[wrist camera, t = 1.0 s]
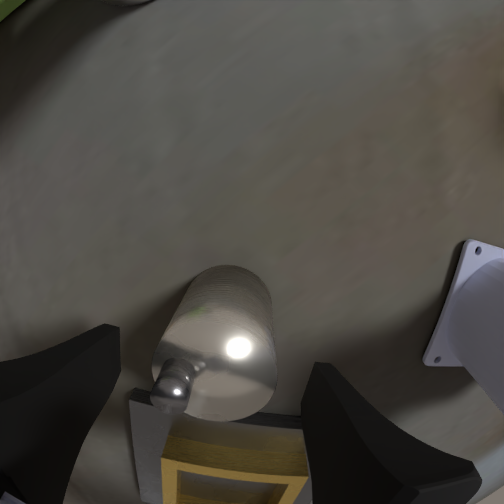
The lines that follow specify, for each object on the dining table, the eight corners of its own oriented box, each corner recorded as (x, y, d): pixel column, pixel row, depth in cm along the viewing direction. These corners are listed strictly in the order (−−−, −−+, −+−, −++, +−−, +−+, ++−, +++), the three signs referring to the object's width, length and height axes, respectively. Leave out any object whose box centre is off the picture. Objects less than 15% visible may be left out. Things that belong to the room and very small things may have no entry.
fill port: (350, 419, 18) (360, 453, 15) (295, 512, 22) (297, 539, 19) (134, 387, 18) (118, 421, 15) (144, 491, 22) (136, 517, 18)
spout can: (279, 273, 16) (295, 364, 8) (262, 348, 17) (264, 458, 9) (190, 257, 16) (136, 335, 8) (182, 334, 17) (140, 436, 9)
